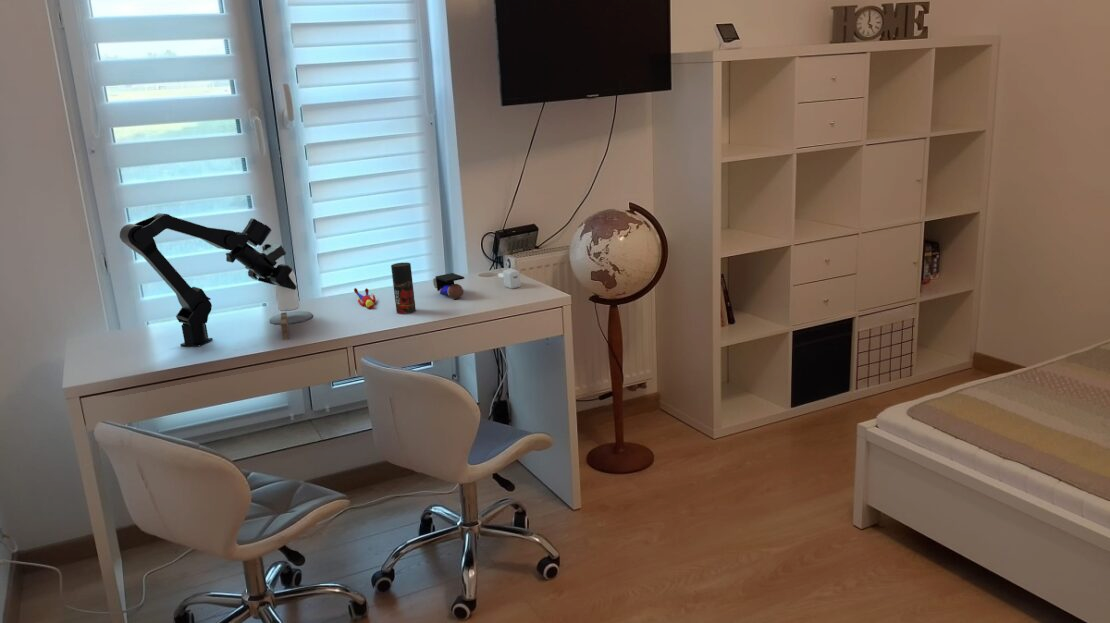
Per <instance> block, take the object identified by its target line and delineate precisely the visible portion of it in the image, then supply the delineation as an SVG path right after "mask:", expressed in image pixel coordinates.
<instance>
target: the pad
mask: <svg viewBox="0 0 1110 623" xmlns="http://www.w3.org/2000/svg"><path fill="white" fill-rule="evenodd" d="M286 313H287V320H288V325H292V324H299V323H303V322H306V321H308V320H310V319H312V318H313V313H312V312H310V311H302V310H301V311H299V310H297V311H290V312H289V311H287V312H286ZM268 322H269V323H270V324H272V325H278V326H279V325H280V326H281V313H279V314H276V315H274V316H271V317H270V318H269V321H268Z"/></svg>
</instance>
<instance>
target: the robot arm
mask: <svg viewBox="0 0 1110 623" xmlns="http://www.w3.org/2000/svg"><path fill="white" fill-rule="evenodd" d="M165 230H170V231H174V232H177V233H179V234H180V233H181V234H184V235H187V236H190V237H194V238H197V239H200V240H202V241H204V242H205V243H207V244H209V245H211V246H213V247H215V248H218V249H221V250H227V251H229V252H226V253H225V255H226V262H227V263H231V264H233V263H235V261H238V262H239V263H240V264H242V265H243V266H244V268H245V269H246V270H248V271H247V274H248V277H249V278H251V279H252V280H255V281H258V282H261V283H266V284H269V285H274V286H275V285H278V286H282V287H285V288H289V289H293V290H295V289H296V285H295V284H294V283H293V281H292V280H291V279H290V277H289V274H290V273H291V271H292V270H293V268H292V267H291V266H289V264H288V265H287V264H283V263H281V264H278V262H277V260H279V259H280V258H282V257H283V256H285V255H287V252H286V250H285V249H284V247H283V246H282V244H280V243H271V244H270V243H264V242H265V241H266V239H267V238H268V237H269V235H270V234H271V232H272V228H270V226H268V225H267V224H264V223H262V222H261V221H259V220H257V219H256V218H250V219H249V221H248V223H247V224H246V226H245V227H244V229H243V230H242V232H240V231H234V230H230V229H224V228H216V227H208V226H205V225H201V224H199V223H194V222H191V221H188V220H185V219H182V218H178V217H175V216H172V215H170V214H169V213H161V212H158V213H156V214H155V215H153V216H151V217H149V218H146V219H143V220H141V221H138V222H136V223H133V224H131V223H129V224H126V225H123V227H121V229H120V231H119V239H120V240H121V242H123V244H125V245H126V246H127V247H129V249H131V250H132V251H134V252H135V253H137V254H138V255H140V256H141V257H142V258H144V260H145V261H146V262H147V264H149V265H150V267H152V269H153V270H154V271H155V272H156V273H157V274H158V275H159V276H160V277H161V279H162V280H163V281H164V282H165V284H166V285H167V286H168V287H169V288H170V289H171V290H172V291H173V292H174V294H175V295H176V297H177V301H178V303H179V304H180V307H181V308H180V310H179V312H177V314H176V315H175V318H176V319H177V321H178V323H181V324H182V325H181V331H182V336H183V341H184V342H182V343H180V347H201V346H203V345H205V344H207V343H209V342H211V341H213V340H214V338H213V337H209V334H208V329H207V328H208V327H207V323H208V319H209V315H210V313H211V312H212V307H213V304H212V302H211V301H210V300H211V298H210V297H208V296H207V294H206V293H205V291H204V290H203V288H199V287H197V286H192V287H191V286H190V285H189V283H188V282H187V281H186V280H185V279H184V278H183V277H182V276H181V274H180V273H179V272H178V271H177V269H175V267H174V266H173V265H172V264H171V263H170V261H168V259H167V258H166V257H165V256H164V254H162V252H161V251H160V250H159V249H158V246H157V243H156V240H155V239H154V238H155V237H157V236H158V235H160V234H161V233H162V232H164V231H165ZM258 246H259V247H261V248H262V249H261V250H262V252H259V251H258V250H256V248H257V247H258ZM254 247H255V248H254ZM276 265H277V266H276Z"/></svg>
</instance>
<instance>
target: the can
mask: <svg viewBox="0 0 1110 623" xmlns="http://www.w3.org/2000/svg"><path fill="white" fill-rule="evenodd" d="M289 277H290V279H291V280H292V281H293V283H294V284H295V285H296V289H295V290H293V289H289V288H285V287H282V286H278V285H274V290H275V298H276V303H277V305H276V306H277V310H278V311H280V312H289V311H290V312H292V311H295V310H298V309H299V308H300V300H299V294H298V293H299V292H298V285H297V279H296V275H295V272H294V270H293V269H292V271H291V273H290V274H289Z"/></svg>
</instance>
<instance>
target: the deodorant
mask: <svg viewBox="0 0 1110 623" xmlns="http://www.w3.org/2000/svg"><path fill="white" fill-rule="evenodd" d="M390 268H391V276H392V284H393V285H392V286H393V293H394V294H393V295H394V302H395V311H396V314H398V315H407V314H412V313H415V312H416V300H415V291H414V282H413V274H412V264H411V262H396V263H393V264H391V266H390Z"/></svg>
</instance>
